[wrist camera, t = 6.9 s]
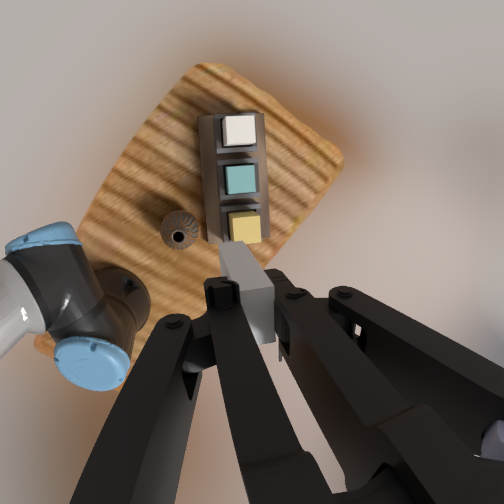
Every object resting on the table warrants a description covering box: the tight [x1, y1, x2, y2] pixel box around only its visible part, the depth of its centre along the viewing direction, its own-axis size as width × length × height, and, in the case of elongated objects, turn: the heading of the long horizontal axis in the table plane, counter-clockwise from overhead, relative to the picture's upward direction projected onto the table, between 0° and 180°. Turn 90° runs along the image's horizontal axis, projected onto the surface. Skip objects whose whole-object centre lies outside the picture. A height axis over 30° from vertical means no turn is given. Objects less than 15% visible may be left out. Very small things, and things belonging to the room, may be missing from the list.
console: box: [198, 113, 270, 244], centre depth 48 cm, size 12×24×6 cm, turn 2°
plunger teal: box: [223, 165, 256, 194], centre depth 46 cm, size 4×4×5 cm
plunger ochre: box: [228, 210, 261, 244], centre depth 47 cm, size 4×4×5 cm
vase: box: [160, 210, 199, 250], centre depth 47 cm, size 7×7×9 cm
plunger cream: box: [222, 115, 256, 146], centre depth 42 cm, size 4×4×5 cm
